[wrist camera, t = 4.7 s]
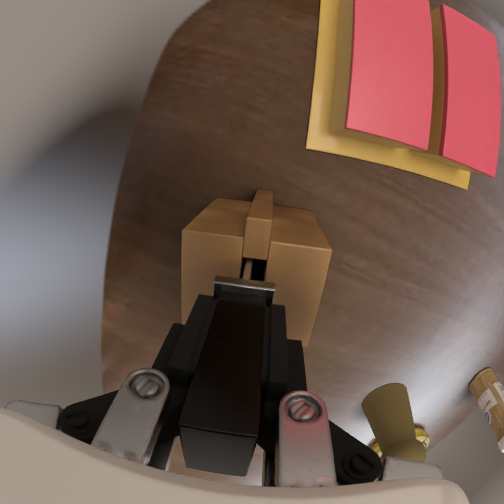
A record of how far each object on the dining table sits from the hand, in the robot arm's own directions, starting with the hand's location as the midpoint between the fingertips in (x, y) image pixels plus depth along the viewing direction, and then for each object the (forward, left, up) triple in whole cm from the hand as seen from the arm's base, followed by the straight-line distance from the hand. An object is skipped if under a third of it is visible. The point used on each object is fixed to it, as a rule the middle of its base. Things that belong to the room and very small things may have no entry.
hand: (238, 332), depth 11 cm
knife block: (0, 0, -12) cm, 12 cm away
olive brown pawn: (+18, -18, -12) cm, 29 cm away
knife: (0, 0, -10) cm, 10 cm away
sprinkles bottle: (+35, -16, -12) cm, 41 cm away
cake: (+10, +15, -12) cm, 22 cm away
